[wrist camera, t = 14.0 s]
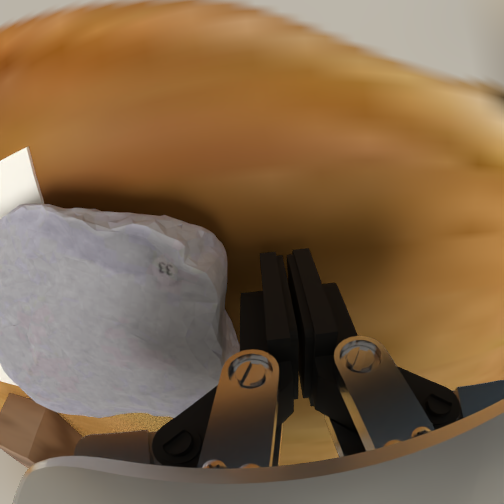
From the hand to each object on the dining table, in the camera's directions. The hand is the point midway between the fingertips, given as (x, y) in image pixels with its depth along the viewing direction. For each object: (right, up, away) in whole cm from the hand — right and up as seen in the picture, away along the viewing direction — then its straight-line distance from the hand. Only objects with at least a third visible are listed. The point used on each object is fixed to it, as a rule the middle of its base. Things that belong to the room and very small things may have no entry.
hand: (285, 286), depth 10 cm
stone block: (-8, 0, +1) cm, 8 cm away
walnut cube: (-21, -15, +9) cm, 27 cm away
